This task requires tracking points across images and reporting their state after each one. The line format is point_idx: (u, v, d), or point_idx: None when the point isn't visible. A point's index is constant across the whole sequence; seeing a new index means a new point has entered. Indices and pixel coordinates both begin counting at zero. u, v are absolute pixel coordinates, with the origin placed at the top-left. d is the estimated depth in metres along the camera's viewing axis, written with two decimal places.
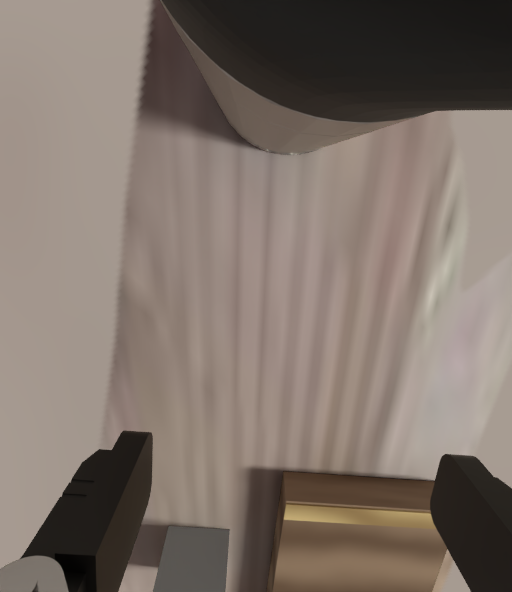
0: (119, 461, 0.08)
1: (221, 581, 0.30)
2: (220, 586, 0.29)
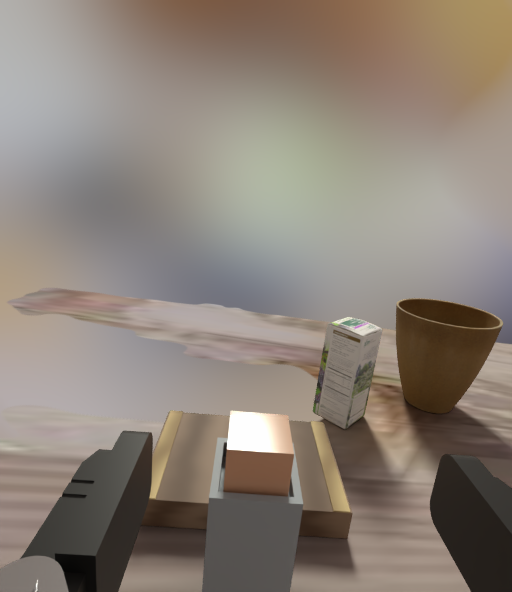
0: (119, 461, 0.08)
1: None
2: None
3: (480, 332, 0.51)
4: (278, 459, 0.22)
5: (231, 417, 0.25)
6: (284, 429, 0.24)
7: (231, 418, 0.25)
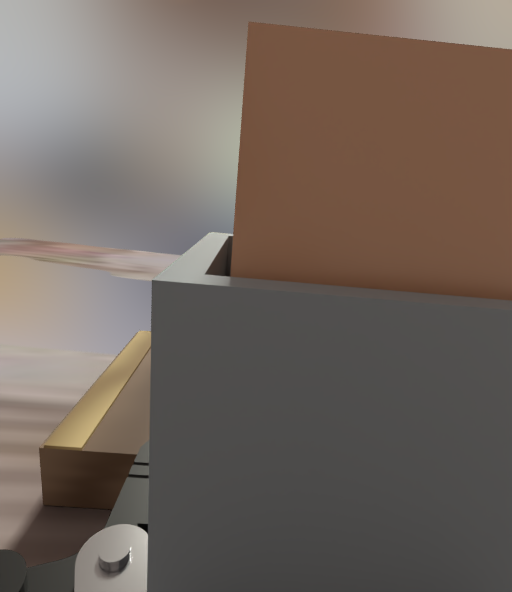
0: None
1: None
2: None
3: None
4: None
5: None
6: None
7: None
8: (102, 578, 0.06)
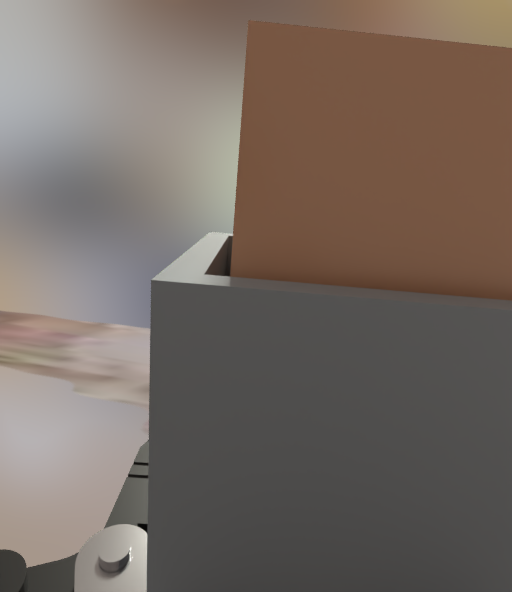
0: None
1: None
2: None
3: None
4: None
5: None
6: None
7: None
8: (102, 578, 0.06)
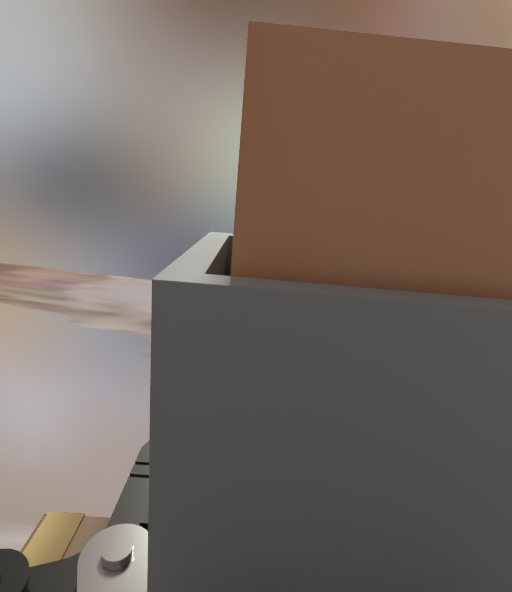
0: None
1: None
2: None
3: None
4: None
5: None
6: None
7: None
8: (105, 577, 0.06)
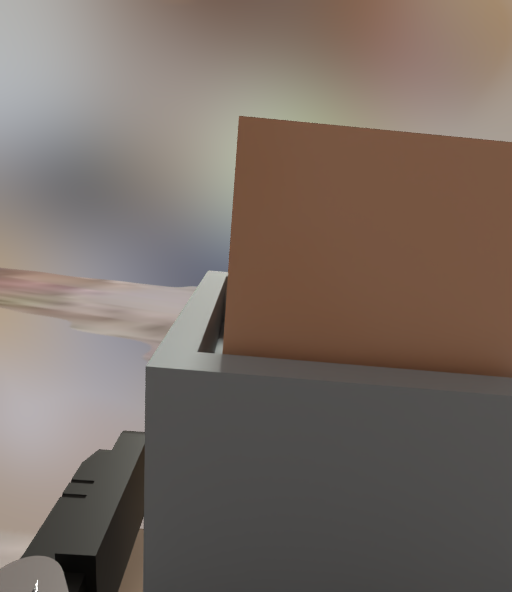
0: (119, 461, 0.08)
1: None
2: None
3: None
4: (500, 182, 0.04)
5: None
6: None
7: None
8: None
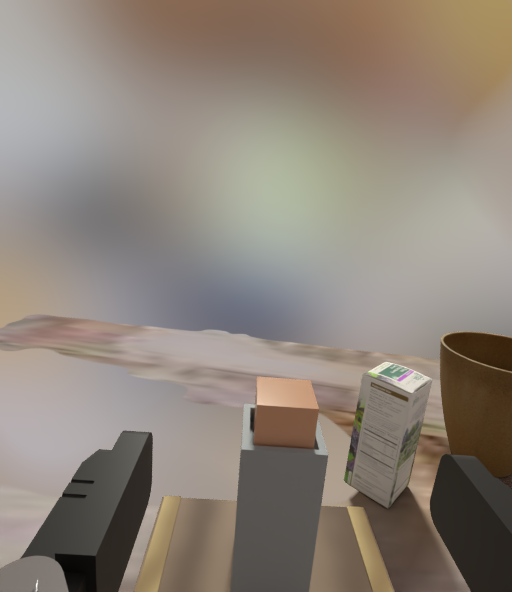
0: (119, 461, 0.08)
1: None
2: None
3: None
4: (304, 414, 0.24)
5: (258, 381, 0.27)
6: (307, 390, 0.26)
7: (258, 382, 0.27)
8: None
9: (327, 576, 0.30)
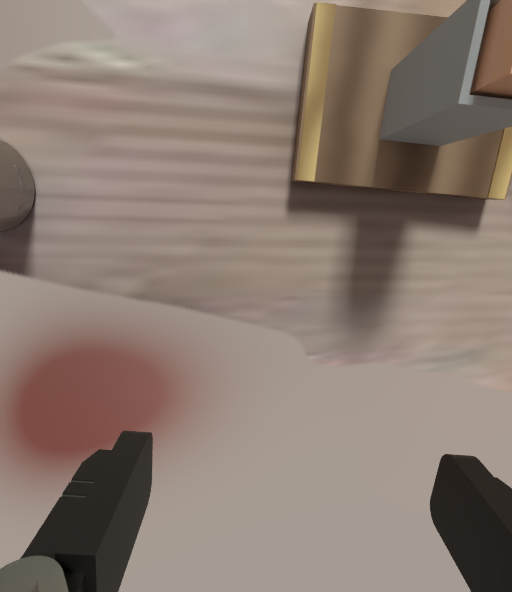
0: (119, 461, 0.08)
1: (412, 54, 0.28)
2: (415, 52, 0.27)
3: None
4: None
5: None
6: None
7: None
8: None
9: None
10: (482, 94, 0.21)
